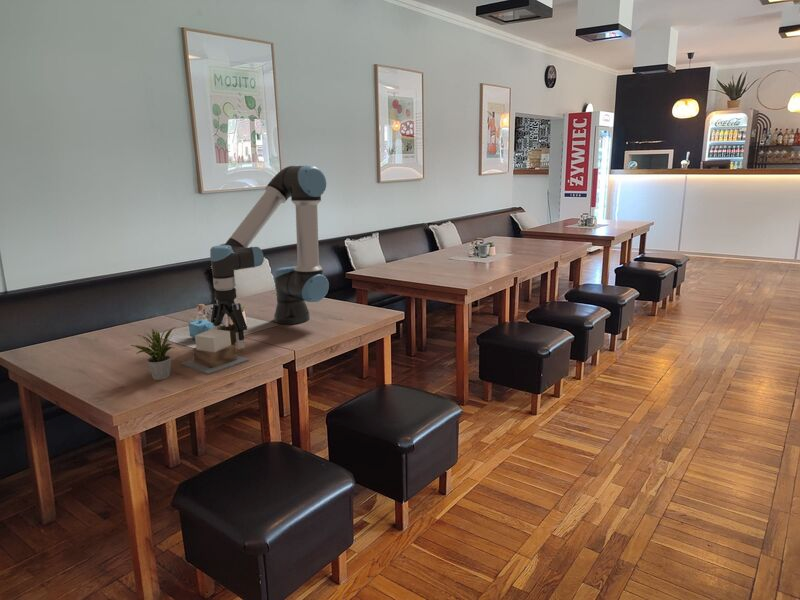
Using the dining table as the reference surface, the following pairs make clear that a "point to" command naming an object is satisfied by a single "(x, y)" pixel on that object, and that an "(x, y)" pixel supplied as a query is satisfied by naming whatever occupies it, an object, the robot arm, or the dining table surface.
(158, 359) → the house plant
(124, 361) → the dining table surface
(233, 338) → the olive green rounded piece
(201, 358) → the block base
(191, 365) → the felt mat
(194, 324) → the blue sponge
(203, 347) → the block top
